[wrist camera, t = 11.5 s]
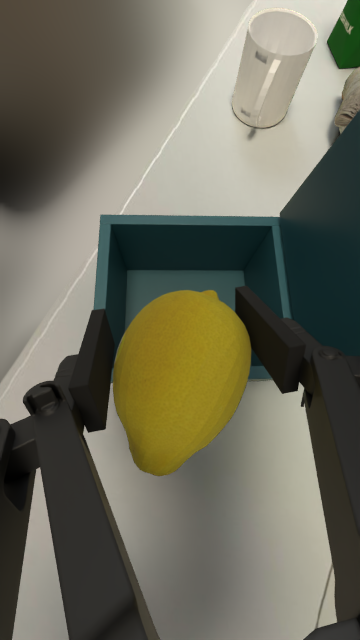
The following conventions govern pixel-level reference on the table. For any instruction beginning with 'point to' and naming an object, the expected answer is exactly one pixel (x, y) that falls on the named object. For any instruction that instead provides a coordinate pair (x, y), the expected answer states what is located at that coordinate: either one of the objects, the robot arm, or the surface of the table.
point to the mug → (272, 65)
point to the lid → (327, 245)
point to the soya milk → (347, 36)
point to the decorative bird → (349, 101)
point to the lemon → (179, 377)
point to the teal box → (189, 265)
